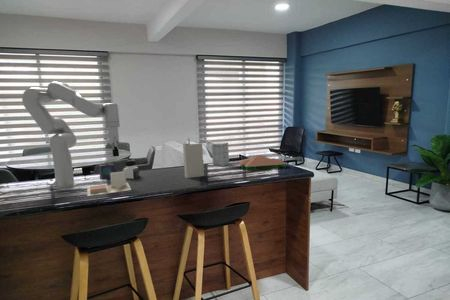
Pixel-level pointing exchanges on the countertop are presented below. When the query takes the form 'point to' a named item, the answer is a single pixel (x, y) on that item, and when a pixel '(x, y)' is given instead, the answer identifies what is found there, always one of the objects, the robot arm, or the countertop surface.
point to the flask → (106, 170)
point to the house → (261, 162)
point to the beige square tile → (118, 179)
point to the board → (111, 189)
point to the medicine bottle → (131, 169)
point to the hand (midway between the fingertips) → (116, 156)
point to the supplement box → (220, 154)
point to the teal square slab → (98, 189)
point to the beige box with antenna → (193, 160)
